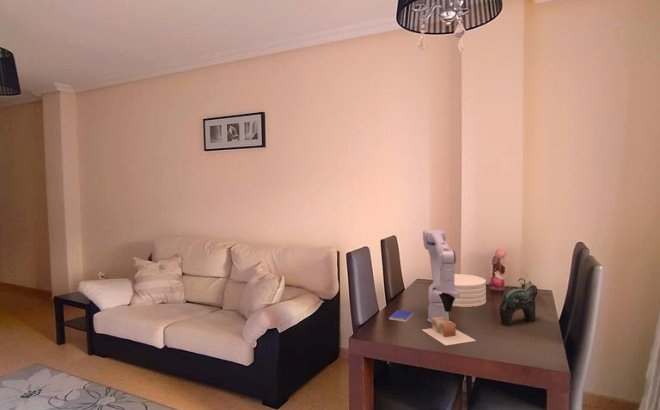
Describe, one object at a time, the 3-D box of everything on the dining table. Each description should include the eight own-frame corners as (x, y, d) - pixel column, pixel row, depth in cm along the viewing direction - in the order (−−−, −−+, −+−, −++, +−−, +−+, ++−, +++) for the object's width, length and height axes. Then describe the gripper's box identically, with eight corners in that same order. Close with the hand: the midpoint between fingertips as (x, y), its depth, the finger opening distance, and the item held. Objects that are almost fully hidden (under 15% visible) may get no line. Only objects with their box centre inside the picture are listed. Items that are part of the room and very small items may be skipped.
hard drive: (405, 319, 176) (413, 311, 187) (389, 316, 180) (397, 309, 190) (405, 322, 176) (413, 315, 187) (389, 320, 180) (397, 312, 191)
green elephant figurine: (529, 317, 178) (529, 275, 177) (541, 321, 172) (541, 278, 171) (497, 323, 171) (496, 279, 170) (508, 328, 165) (508, 282, 164)
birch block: (445, 337, 154) (431, 329, 164) (455, 335, 155) (441, 327, 165) (445, 325, 154) (431, 317, 163) (455, 323, 155) (441, 316, 165)
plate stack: (494, 306, 196) (494, 284, 195) (440, 307, 196) (440, 285, 196) (475, 292, 224) (474, 273, 223) (427, 293, 224) (427, 274, 224)
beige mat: (421, 331, 163) (421, 329, 163) (449, 327, 167) (449, 325, 167) (445, 346, 146) (445, 345, 146) (476, 342, 150) (476, 340, 150)
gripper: (466, 281, 152) (466, 315, 152) (445, 275, 166) (446, 305, 166) (451, 283, 150) (451, 317, 150) (431, 276, 164) (432, 307, 164)
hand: (447, 311), depth 158 cm, fingers closed
